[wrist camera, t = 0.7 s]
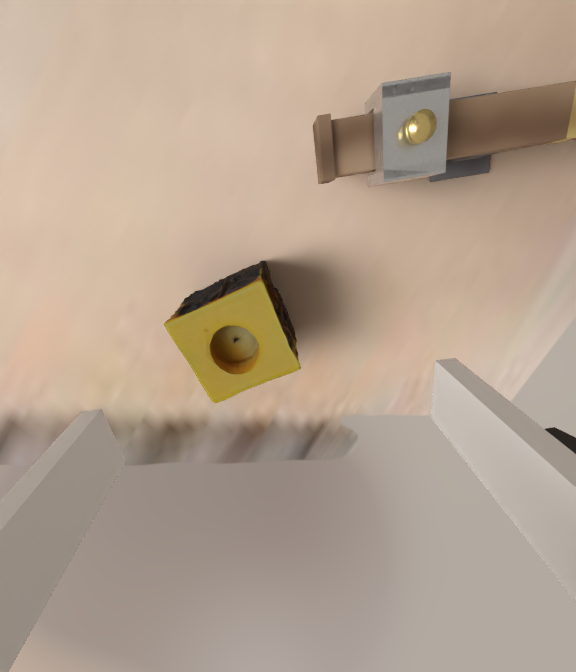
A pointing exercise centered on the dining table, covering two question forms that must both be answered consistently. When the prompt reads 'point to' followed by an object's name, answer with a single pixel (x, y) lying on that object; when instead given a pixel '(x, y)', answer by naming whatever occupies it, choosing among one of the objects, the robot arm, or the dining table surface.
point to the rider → (410, 128)
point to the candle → (236, 333)
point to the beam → (458, 131)
